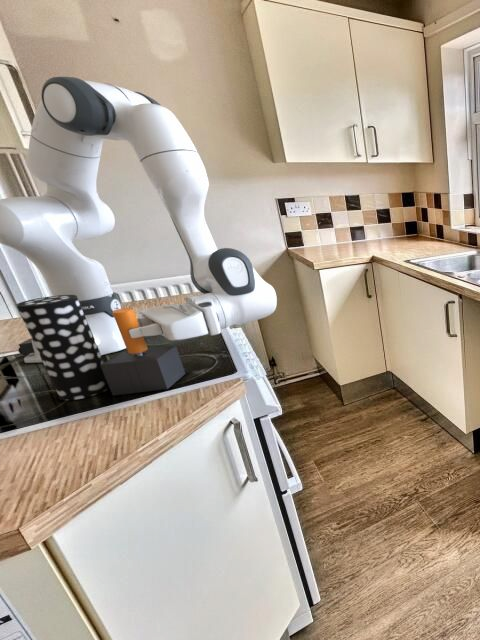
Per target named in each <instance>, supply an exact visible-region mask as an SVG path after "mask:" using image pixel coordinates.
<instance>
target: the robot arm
mask: <svg viewBox="0 0 480 640" xmlns="http://www.w3.org/2000/svg"><path fill="white" fill-rule="evenodd" d="M104 140H110V141H127V142H128V143H129V144H130V146H131V147H132V149H133V150H134V153H135V155H136V157H137V159H138V161H139V163H140V165H141V166H142V169H143V170H144V173H145V174H146V176H147V178H148V179H149V181H150V182H151V185H152V186H153V188H154V189H155V191H156V193H157V195H158V196H159V198H160V200H161V201H162V204H163V205H164V207H165V209H166V211H167V213H168V215H169V217H170V219H171V221H172V223H173V225H174V227H175V230H176V232H177V234H178V237H179V238H180V241H181V244H182V245H183V247H184V249H185V252H186V254H187V256H188V259H189V265H190V267H189V268H190V269H189V270H190V271H189V272H190V280H191V283H192V284H193V286H194V287H195V289H196V290H197V291H199V293H200V294H195V295H190V296H187V297H185V299H184V300H185V301H184V303H180V304H179V303H169V304H162V305H157V306H152V307H145V308H142V309H140V310H139V311H138V314H139V317H136V318H137V321H138V324H139V326H140V327H135V328H130V329H128V333H129V336H130V337H132V338H138V337H142V336H143V337H152V336H153V337H154V336H162V337H164V338H165V339H166V340H168V341H183V340H188V339H195V338H199V337H202V336H206V335H208V336H216V335H221V333H222V330H225V329H227V328H229V327H231V326H233V325H244V324H248V323H253V322H256V321H259V320H262V319H264V318H267V317H269V316H271V315H272V314H273V313H275V311H276V309H277V305H278V296H277V293H276V290H275V288H274V287H273V286H272V285H271V284H270V283H269V282H267V281H265V280H264V279H263V278H262V276H260V274H259V273H258V272H257V270H256V269H255V268H254V266H253V264H252V262H251V259H250V258H249V257H248V256H247V255H246V254H245V253H243V252H242V251H241V250H238V249H235V248H230V247H222V248H219V249H218V247H217V245H216V242H215V240H214V239H213V238H214V237H213V236H212V233H211V231H210V229H209V226H208V224H207V222H206V218H205V217H206V216H205V204H206V199H207V195H208V191H209V188H210V182H209V177H208V174H207V170H206V167H205V165H204V163H203V160H202V158H201V156H200V154H199V152H198V150H197V147H196V145H195V144H194V143H193V141H192V139H191V137H190V136H189V134H188V132H187V131H186V130H185V128H184V126H183V125H182V123H181V122H180V120H179V119H178V118H177V116H176V115H175V114H174V113H173V112H172V111H171V110H170V109H168V108H167V107H165V106H163V105H162V104H160V103H159V102H158V101H157V100H155V99H153V98H152V97H150V96H149V95H147V94H144V93H142V92H139V91H134V90H130V89H127V88H124V87H121V86H118V85H114V84H111V83H104V82H103V83H102V82H97V81H92V80H85V79H81V78H78V77H74V76H54V77H50V78H48V79H47V80H45V82H44V83H43V85H42V89H41V100H40V101H39V104H38V106H37V108H36V111H35V113H34V116H33V119H32V125H31V129H30V135H29V142H28V150H27V158H26V166H27V168H28V170H29V171H30V172H31V174H32V175H33V176H34V177H36V178H37V179H38V180H40V181H41V182H43V183H44V184H46V192H45V193H44V194H43V195H35V196H11V197H6V198H1V199H0V244H1V245H4V246H6V247H9V248H11V249H13V250H15V251H17V252H19V253H20V254H22V255H23V256H24V257H25V258H27V259H28V260H29V261H30V262H31V263H32V264H33V265H34V266H35V267H36V268H37V269H38V271H39V272H40V274H41V275H42V276H43V278H44V280H45V283H46V284H47V287H48V289H49V291H50V292H51V293H50V294H51V296H58V295H76V296H77V298H78V300H79V302H80V305H81V307H82V310H83V312H84V315H85V317H86V320H87V322H88V324H89V327H90V329H91V332H92V334H93V337H94V339H95V341H96V344H97V346H98V349H99V351H100V354H101V356H104V355H108V354H111V353H116V352H119V351H122V350H123V351H124V350H127V348H126V346H125V343H124V341H123V338H122V336H121V333H120V331H119V328H118V326H117V323H116V321H115V318H114V316H113V313H112V312H113V311H114V310H117V309H122V308H123V307H122V305H121V302H120V300H119V297H118V295H117V293H116V292H114V291H113V288H112V285H111V282H110V280H109V278H108V275H107V272H106V268H105V267H104V265H103V264H102V263H100V262H99V261H98V260H95V259H93V258H90V257H88V256H87V257H86V256H85V255H84V254H82V253H81V252H80V251H79V250H78V249H77V248H76V246H75V245H74V243H73V242H79V241H87V240H93V239H97V238H99V237H101V236H105V235H107V234H109V233H111V232H112V231H113V229H114V228H115V224H116V219H115V215H114V213H113V211H112V209H111V208H110V207H109V206H108V204H107V203H105V202H104V201H102V199H101V198H100V196H99V193H98V189H97V188H98V187H97V179H98V172H99V168H100V167H99V166H100V161H101V156H102V151H103V145H104V142H105V141H104ZM18 346H19V347H18V350H17V351H18V353H19V354H21V356H22V355H23V356H24V358H23V362H24V363H25V364H36V363H43V361H42V359H41V357H40V355H39V353H38V351H37V349H36V346H35V344H34V342H33V340H32V338H29V339H28V338H27V339H26V340H24V341H23V342H21V343H19V344H18Z"/></svg>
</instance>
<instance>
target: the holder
mask: <svg viewBox="0 0 480 640" xmlns="http://www.w3.org/2000/svg"><path fill="white" fill-rule="evenodd" d="M147 348H148V349H147V350H146V351H143V352H142V354H143V356H137V354H136V353H135V354H130V353H128V351H127V349H124V350H123V351H121V352H120V353H117V354H116V355H114V356H112V357H111V358H109V359H108V360H106V361H104V363H103V364H101V365H100V366H101V368H102V371H103V373H104V375H105V378H106V380H107V383H108V385H109V387H110V389H109V390H110V392H111V394H112V396H120V395H129V394H137V393H138V394H139V393H147V392H156V391H162V390H169V388H171V387H173V385H174V384H175V383H176V382H178V381H179V380H180V379H182V377H183V376H185V375H186V372H185V368H184V366H183V363H182V360H181V356H180V353H179V351H178V347H177V346H176V345H166V346H158V347H157V346H156V347H147Z"/></svg>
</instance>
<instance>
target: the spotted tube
mask: <svg viewBox="0 0 480 640" xmlns="http://www.w3.org/2000/svg"><path fill="white" fill-rule="evenodd" d="M15 306H16V308H17V310H18V312H19V314H20V316H21V319H22V321H23V323H24V326H25V327H26V329H27V331H28V334H29V335H30V339H32V340H33V342H34V344H35V346H36V349H37V351H38V353H39V355H40V357H41V359H42V361H43V362H42V364H43V365H44V369H45V370H46V372H47V374H48V376H49V379H50V380H51V383H52V385H53V387H54V389H55V392H56V393H57V395H58V398H59V399H60V400H62V401H76V400H81V399H82V400H83V399H85V398H91V397H94V396H96V395H98V394H102V393H104V392H106V391H108V390H110V387H109V385H108V383H107V380H106V378H105V375H104V373H103V371H102V368H101V366H100V365H101V364H103V363H104V362H105V360H104V359H103V355H101V354H100V351H99V349H98V346H97V344H96V341H95V339H94V337H93V334H92V332H91V329H90V327H89V324H88V322H87V320H86V317H85V315H84V312H83V310H82V307H81V305H80V302H79V300H78V298H77V296H76V295H58V296H53V295H50V296H43V297H38V298H33V299H28V300H24V301H20V302H19V303H16V305H15Z"/></svg>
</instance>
